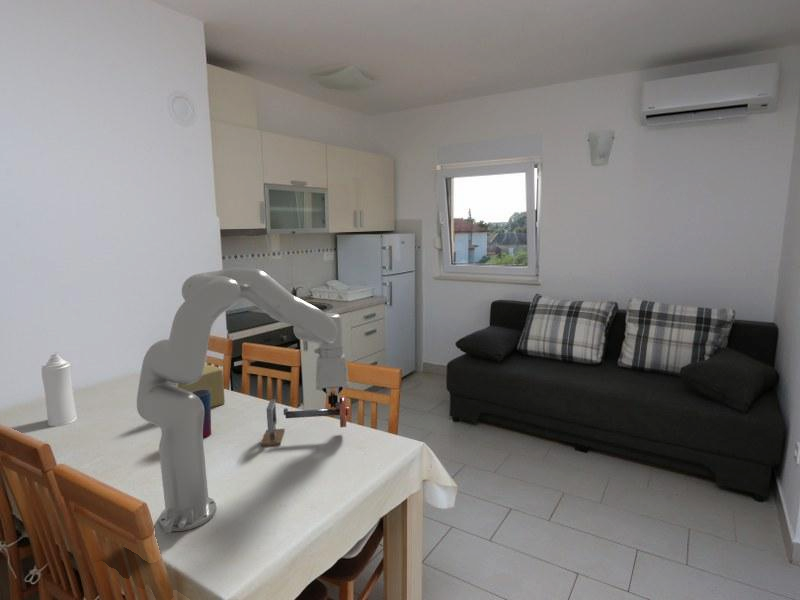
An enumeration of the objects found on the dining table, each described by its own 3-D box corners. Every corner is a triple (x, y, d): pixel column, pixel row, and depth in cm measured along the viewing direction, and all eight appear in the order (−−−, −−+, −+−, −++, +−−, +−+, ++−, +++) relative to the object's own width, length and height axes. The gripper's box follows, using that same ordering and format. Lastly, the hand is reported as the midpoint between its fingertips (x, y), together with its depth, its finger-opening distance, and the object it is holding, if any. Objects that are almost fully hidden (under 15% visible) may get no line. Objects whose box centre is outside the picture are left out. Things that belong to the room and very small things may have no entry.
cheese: (171, 424, 166) (167, 383, 163) (157, 417, 171) (153, 378, 169) (226, 404, 183) (223, 367, 181) (212, 399, 189) (209, 363, 186)
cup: (206, 440, 152) (202, 397, 150) (187, 439, 154) (183, 395, 151) (218, 431, 159) (214, 389, 156) (200, 430, 160) (196, 388, 158)
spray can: (36, 423, 168) (26, 356, 164) (65, 412, 178) (56, 348, 174) (59, 427, 164) (49, 359, 160) (88, 415, 174) (79, 350, 170)
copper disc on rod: (349, 432, 150) (348, 402, 148) (282, 436, 148) (280, 406, 146) (349, 419, 160) (348, 391, 158) (286, 422, 158) (285, 394, 156)
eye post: (280, 445, 148) (278, 409, 146) (261, 446, 148) (258, 410, 146) (284, 431, 158) (282, 397, 156) (266, 432, 157) (264, 398, 155)
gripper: (306, 356, 146) (309, 411, 149) (354, 354, 147) (356, 408, 150) (308, 349, 153) (311, 402, 156) (354, 347, 155) (355, 400, 158)
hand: (333, 405), depth 153 cm, fingers closed
